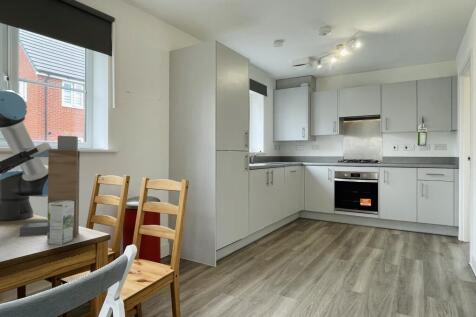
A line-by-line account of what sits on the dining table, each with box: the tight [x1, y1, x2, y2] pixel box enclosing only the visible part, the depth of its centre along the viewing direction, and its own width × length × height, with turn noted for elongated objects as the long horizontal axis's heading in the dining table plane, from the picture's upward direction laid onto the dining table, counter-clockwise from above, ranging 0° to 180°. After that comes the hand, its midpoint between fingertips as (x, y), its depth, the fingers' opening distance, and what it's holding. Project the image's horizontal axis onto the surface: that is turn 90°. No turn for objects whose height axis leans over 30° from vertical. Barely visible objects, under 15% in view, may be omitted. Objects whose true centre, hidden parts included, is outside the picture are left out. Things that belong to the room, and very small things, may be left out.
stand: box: [46, 150, 81, 239], centre depth 109 cm, size 8×9×32 cm
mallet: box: [22, 135, 79, 158], centre depth 107 cm, size 17×4×8 cm, turn 112°
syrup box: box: [46, 200, 74, 245], centre depth 101 cm, size 6×6×14 cm
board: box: [19, 222, 48, 237], centre depth 115 cm, size 7×14×3 cm, turn 112°
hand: (48, 145), depth 107 cm, fingers closed on mallet, 3 cm apart
